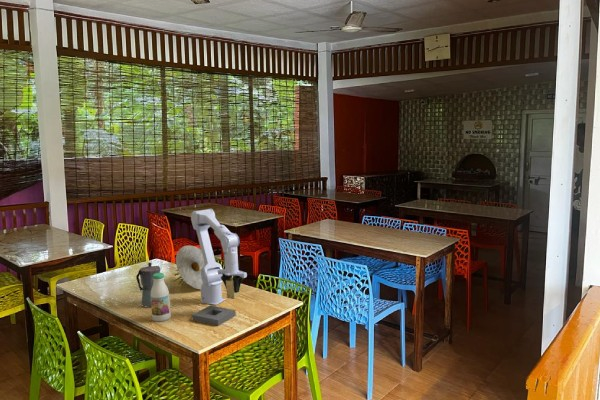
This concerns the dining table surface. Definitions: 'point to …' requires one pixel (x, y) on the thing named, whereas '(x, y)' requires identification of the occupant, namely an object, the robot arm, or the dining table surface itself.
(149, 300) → the moka pot
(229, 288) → the plug block
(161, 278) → the milk bottle
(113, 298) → the dining table surface
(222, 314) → the grey flat slab
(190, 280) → the disc
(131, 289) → the dining table surface
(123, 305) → the dining table surface
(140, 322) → the dining table surface
